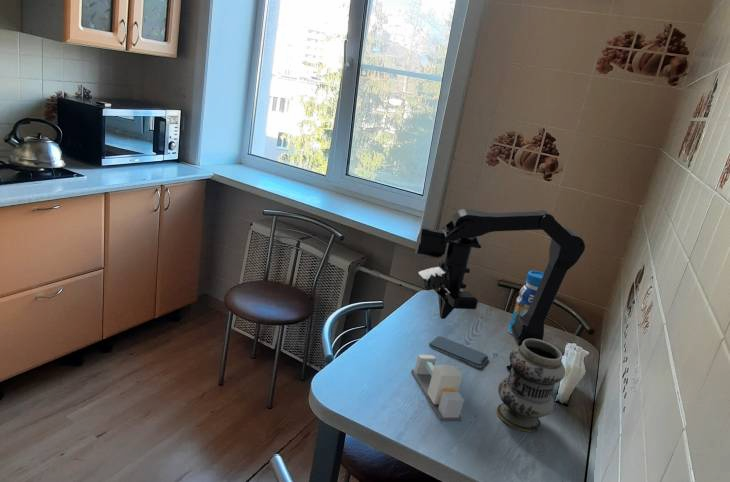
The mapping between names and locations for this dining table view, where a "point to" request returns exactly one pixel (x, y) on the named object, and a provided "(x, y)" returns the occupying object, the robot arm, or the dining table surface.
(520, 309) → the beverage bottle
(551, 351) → the apothecary jar
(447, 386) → the white block
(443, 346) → the smartphone
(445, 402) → the grey piece
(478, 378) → the dining table surface
